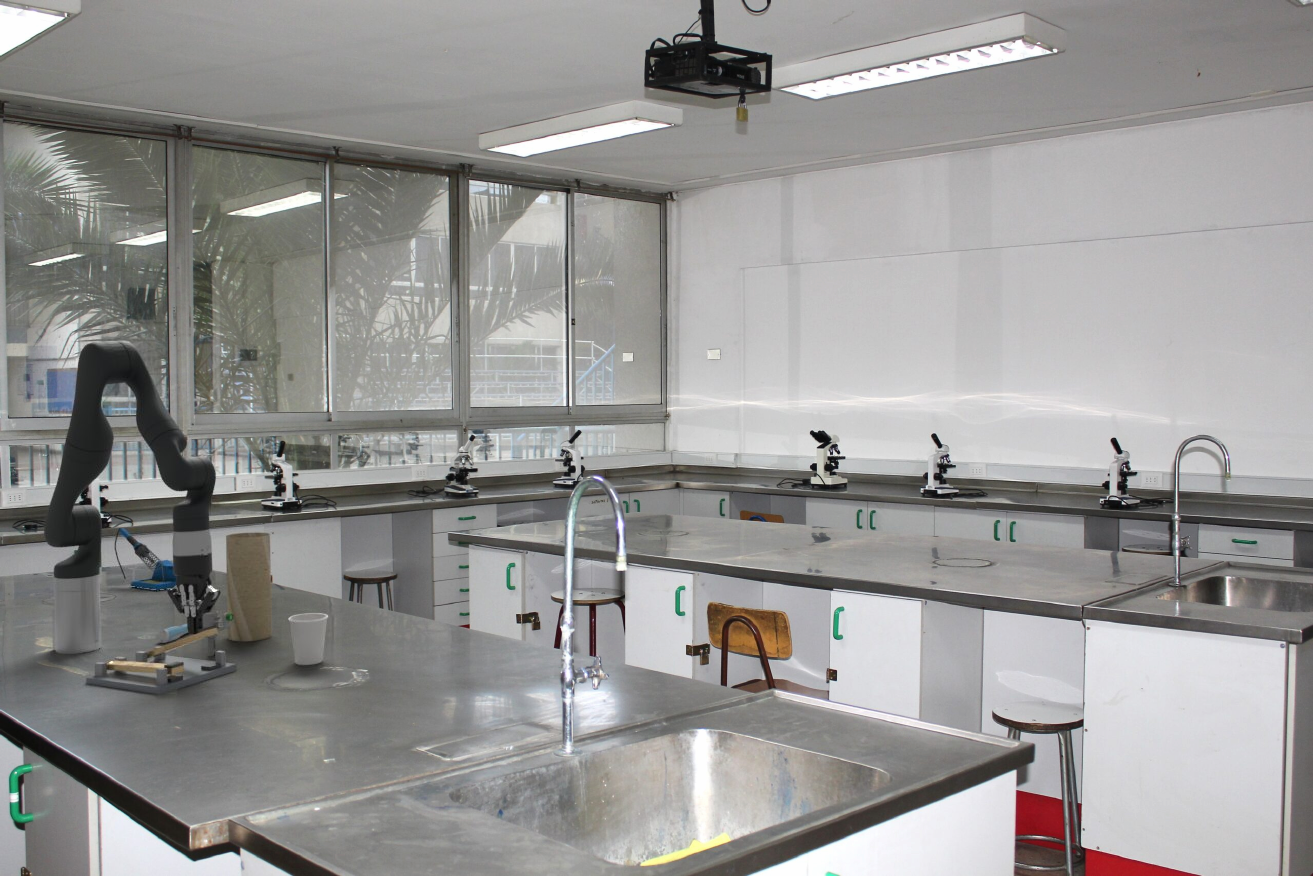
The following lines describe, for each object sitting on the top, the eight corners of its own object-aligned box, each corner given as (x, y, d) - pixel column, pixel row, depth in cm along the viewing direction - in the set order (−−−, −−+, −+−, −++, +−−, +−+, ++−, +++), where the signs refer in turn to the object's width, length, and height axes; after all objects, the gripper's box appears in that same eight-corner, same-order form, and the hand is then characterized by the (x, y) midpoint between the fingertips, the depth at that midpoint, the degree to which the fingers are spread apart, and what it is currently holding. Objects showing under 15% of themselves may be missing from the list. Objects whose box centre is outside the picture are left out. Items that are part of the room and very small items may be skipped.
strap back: (143, 659, 225) (141, 651, 225) (155, 656, 228) (152, 648, 228) (207, 636, 218) (204, 627, 218) (218, 633, 221) (215, 624, 221)
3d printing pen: (165, 629, 247) (154, 632, 248) (168, 642, 247) (157, 645, 247) (207, 616, 267) (196, 618, 267) (210, 628, 266) (199, 631, 267)
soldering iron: (202, 571, 359) (202, 517, 358) (265, 578, 343) (264, 522, 343) (105, 586, 328) (104, 528, 328) (170, 595, 313) (169, 534, 312)
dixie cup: (316, 667, 226) (315, 621, 226) (281, 665, 228) (280, 619, 228) (335, 658, 235) (335, 613, 234) (301, 656, 236) (301, 612, 236)
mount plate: (86, 685, 213) (85, 663, 213) (166, 662, 231) (166, 642, 231) (159, 695, 205) (159, 672, 205) (236, 670, 224) (236, 650, 223)
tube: (236, 643, 249) (234, 538, 248) (221, 636, 256) (219, 534, 255) (278, 637, 255) (276, 535, 254) (262, 630, 263) (261, 531, 262)
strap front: (102, 670, 216) (101, 660, 216) (114, 666, 218) (114, 657, 218) (172, 675, 208) (171, 665, 208) (184, 671, 211) (183, 662, 211)
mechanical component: (228, 658, 234) (227, 614, 234) (187, 656, 236) (186, 612, 236) (236, 655, 237) (235, 611, 237) (195, 653, 239) (194, 610, 239)
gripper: (154, 553, 220) (157, 635, 220) (202, 555, 214) (205, 639, 215) (182, 548, 226) (185, 628, 227) (230, 550, 221) (233, 632, 222)
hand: (195, 633), depth 221 cm, fingers closed
